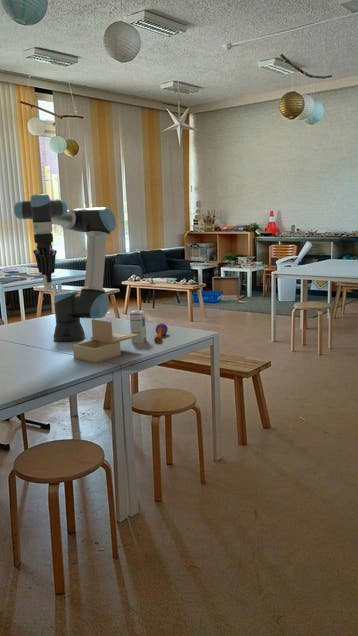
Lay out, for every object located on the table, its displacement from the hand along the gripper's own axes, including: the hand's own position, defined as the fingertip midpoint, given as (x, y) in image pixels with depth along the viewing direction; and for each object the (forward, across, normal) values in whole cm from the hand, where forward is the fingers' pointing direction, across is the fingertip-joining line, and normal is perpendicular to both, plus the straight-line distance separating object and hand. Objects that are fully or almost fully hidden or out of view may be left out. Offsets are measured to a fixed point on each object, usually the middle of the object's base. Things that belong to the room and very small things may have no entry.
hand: (48, 290), depth 238 cm
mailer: (+29, +15, +11) cm, 35 cm away
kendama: (+30, +14, +52) cm, 61 cm away
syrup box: (+30, +10, +41) cm, 52 cm away
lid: (+23, +15, +21) cm, 35 cm away
